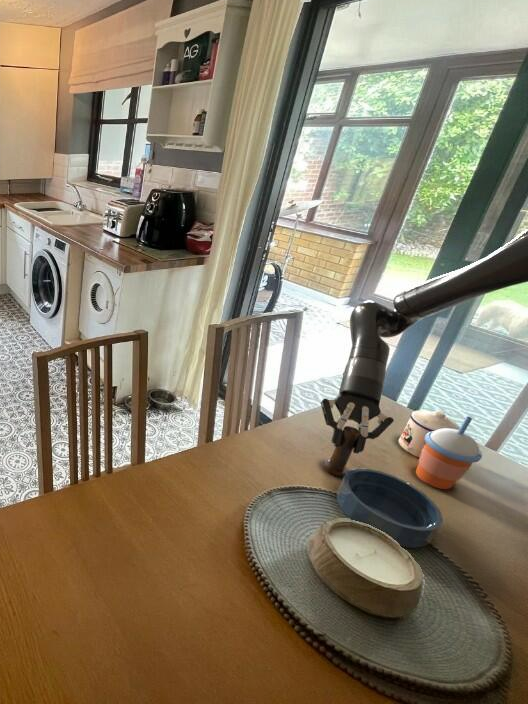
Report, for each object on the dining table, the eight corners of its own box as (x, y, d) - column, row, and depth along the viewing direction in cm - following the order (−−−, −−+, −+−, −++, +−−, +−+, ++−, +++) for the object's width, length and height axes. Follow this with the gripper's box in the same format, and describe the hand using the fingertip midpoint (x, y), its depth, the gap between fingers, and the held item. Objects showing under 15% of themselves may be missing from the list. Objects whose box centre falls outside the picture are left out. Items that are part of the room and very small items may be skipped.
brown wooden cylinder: (345, 468, 99) (363, 428, 94) (346, 479, 96) (364, 439, 90) (323, 460, 101) (340, 421, 96) (323, 471, 98) (340, 431, 93)
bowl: (423, 508, 89) (434, 489, 86) (437, 564, 77) (450, 545, 75) (335, 476, 97) (343, 458, 94) (335, 523, 85) (345, 504, 83)
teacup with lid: (397, 432, 111) (415, 397, 106) (443, 448, 105) (464, 411, 100) (396, 456, 102) (416, 419, 97) (446, 475, 97) (470, 436, 92)
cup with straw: (409, 459, 102) (441, 399, 94) (460, 479, 96) (499, 418, 88) (405, 478, 96) (439, 417, 88) (459, 501, 90) (501, 438, 82)
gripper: (330, 366, 98) (312, 434, 94) (407, 386, 91) (391, 460, 87) (323, 375, 104) (306, 439, 100) (395, 394, 97) (380, 464, 93)
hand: (346, 449), depth 93 cm, fingers closed on brown wooden cylinder, 3 cm apart
